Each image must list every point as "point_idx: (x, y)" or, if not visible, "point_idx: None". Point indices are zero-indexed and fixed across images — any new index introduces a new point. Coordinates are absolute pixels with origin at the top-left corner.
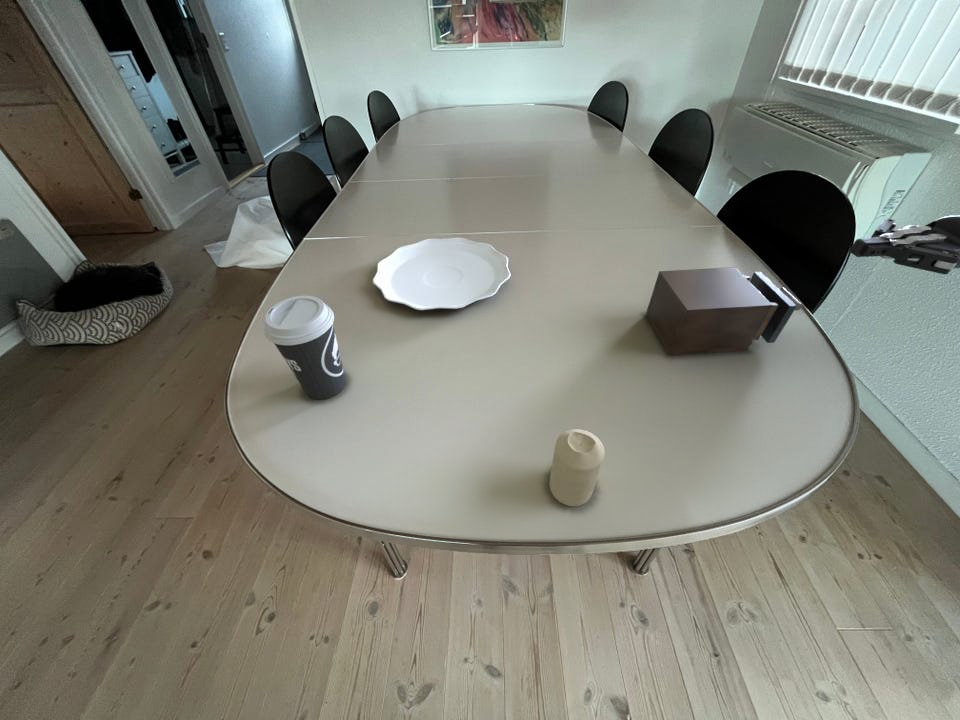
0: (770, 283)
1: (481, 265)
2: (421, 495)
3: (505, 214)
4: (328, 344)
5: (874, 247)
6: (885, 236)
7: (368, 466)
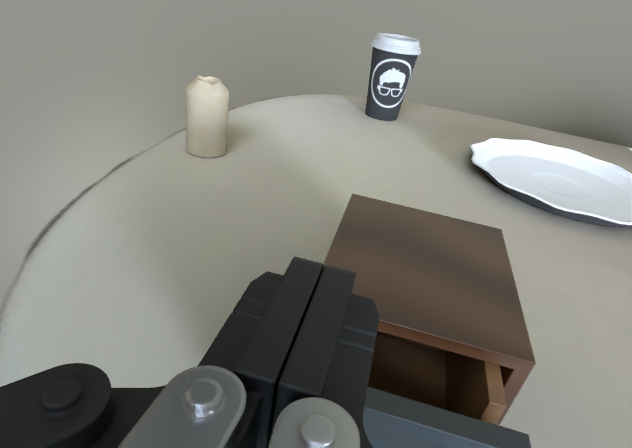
0: (440, 421)
1: (604, 215)
2: (256, 115)
3: None
4: (381, 65)
5: (251, 288)
6: (314, 420)
7: (293, 110)
